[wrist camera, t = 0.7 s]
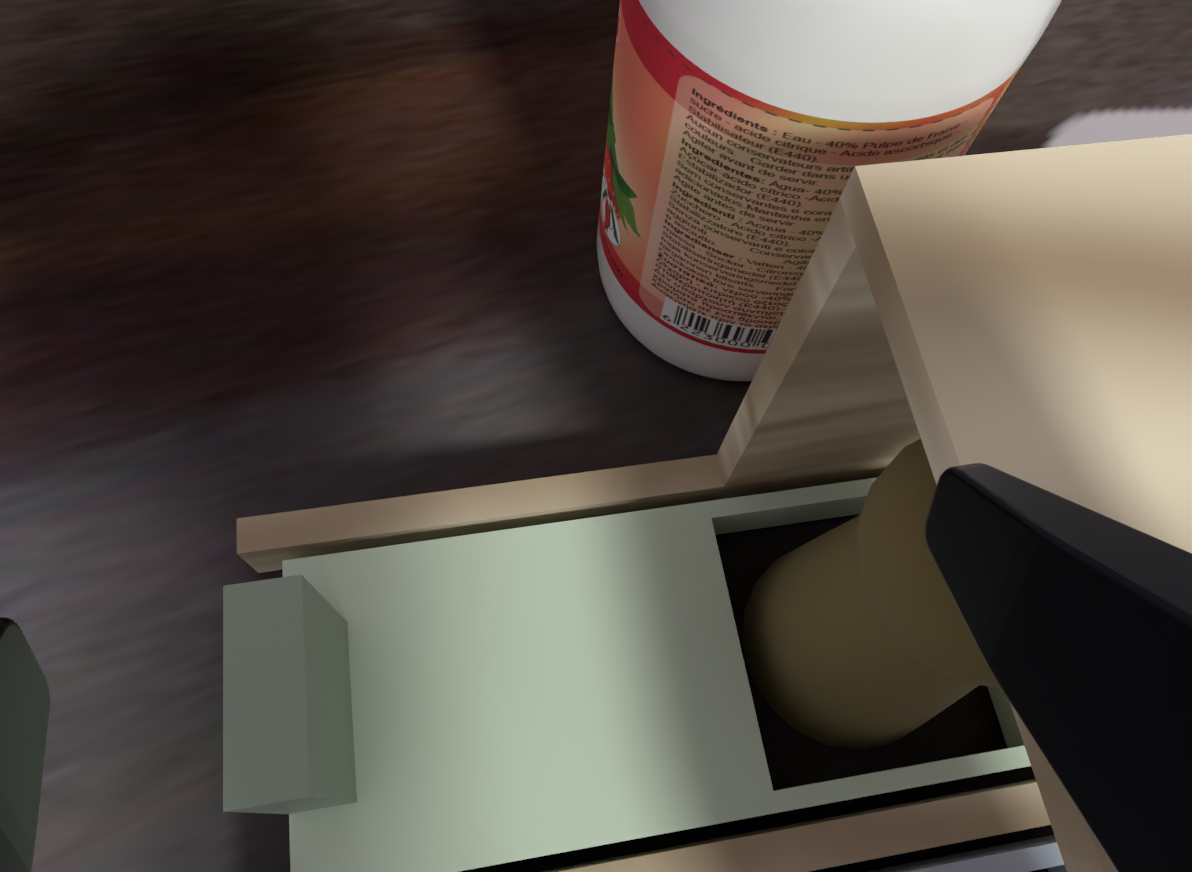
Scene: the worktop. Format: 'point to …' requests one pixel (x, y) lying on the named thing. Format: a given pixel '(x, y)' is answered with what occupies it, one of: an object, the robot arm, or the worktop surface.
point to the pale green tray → (517, 692)
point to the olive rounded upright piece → (863, 622)
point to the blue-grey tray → (994, 859)
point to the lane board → (916, 416)
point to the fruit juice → (773, 146)
